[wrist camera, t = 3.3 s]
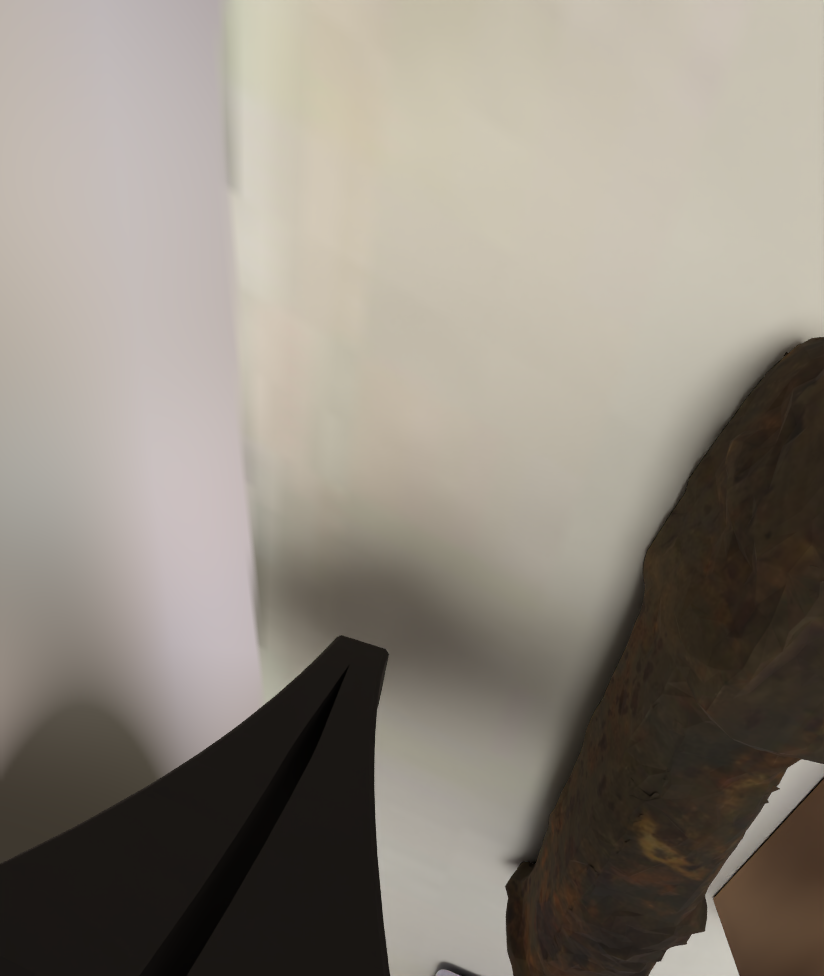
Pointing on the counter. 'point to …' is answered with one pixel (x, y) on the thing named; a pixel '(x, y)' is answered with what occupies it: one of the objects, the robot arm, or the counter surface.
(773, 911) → the stop rail
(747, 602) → the hand tool
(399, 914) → the counter surface
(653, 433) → the counter surface
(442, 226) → the counter surface
